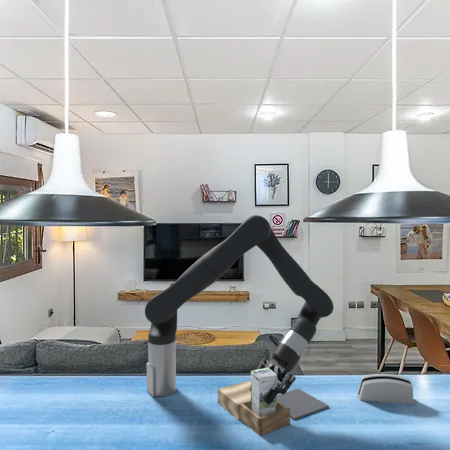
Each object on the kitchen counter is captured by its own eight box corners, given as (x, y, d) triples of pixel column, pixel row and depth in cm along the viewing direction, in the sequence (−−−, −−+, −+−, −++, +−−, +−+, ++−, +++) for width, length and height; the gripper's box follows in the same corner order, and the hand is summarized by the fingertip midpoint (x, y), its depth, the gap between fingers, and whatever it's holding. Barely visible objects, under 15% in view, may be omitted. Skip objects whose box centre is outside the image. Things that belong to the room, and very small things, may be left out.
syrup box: (267, 414, 114) (267, 366, 114) (277, 424, 108) (277, 374, 108) (250, 418, 112) (250, 369, 112) (259, 428, 106) (259, 377, 106)
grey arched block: (409, 396, 125) (412, 372, 121) (413, 408, 120) (417, 383, 117) (356, 393, 127) (358, 369, 124) (358, 404, 123) (360, 380, 120)
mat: (294, 420, 111) (294, 418, 111) (265, 400, 123) (265, 398, 123) (328, 407, 118) (328, 405, 118) (298, 390, 130) (298, 388, 130)
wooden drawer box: (291, 424, 109) (291, 408, 109) (257, 436, 103) (257, 420, 102) (249, 393, 127) (248, 380, 127) (217, 402, 121) (217, 388, 121)
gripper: (269, 336, 120) (237, 381, 114) (299, 349, 107) (266, 401, 102) (282, 349, 123) (252, 394, 117) (313, 364, 110) (282, 415, 104)
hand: (259, 397), depth 109 cm, fingers closed on syrup box, 6 cm apart
